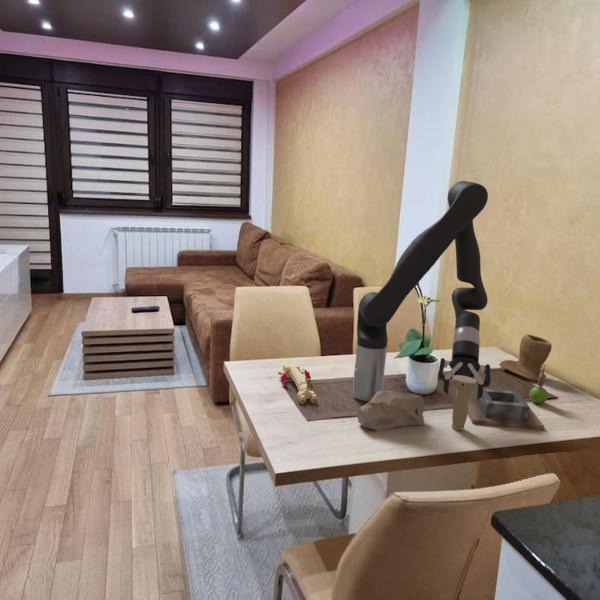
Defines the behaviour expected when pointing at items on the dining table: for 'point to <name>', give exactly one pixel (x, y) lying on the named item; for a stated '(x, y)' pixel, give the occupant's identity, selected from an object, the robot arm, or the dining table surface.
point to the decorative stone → (391, 410)
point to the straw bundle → (298, 381)
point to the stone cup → (529, 357)
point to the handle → (461, 400)
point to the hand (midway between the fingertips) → (462, 396)
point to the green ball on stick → (539, 390)
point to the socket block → (502, 410)
